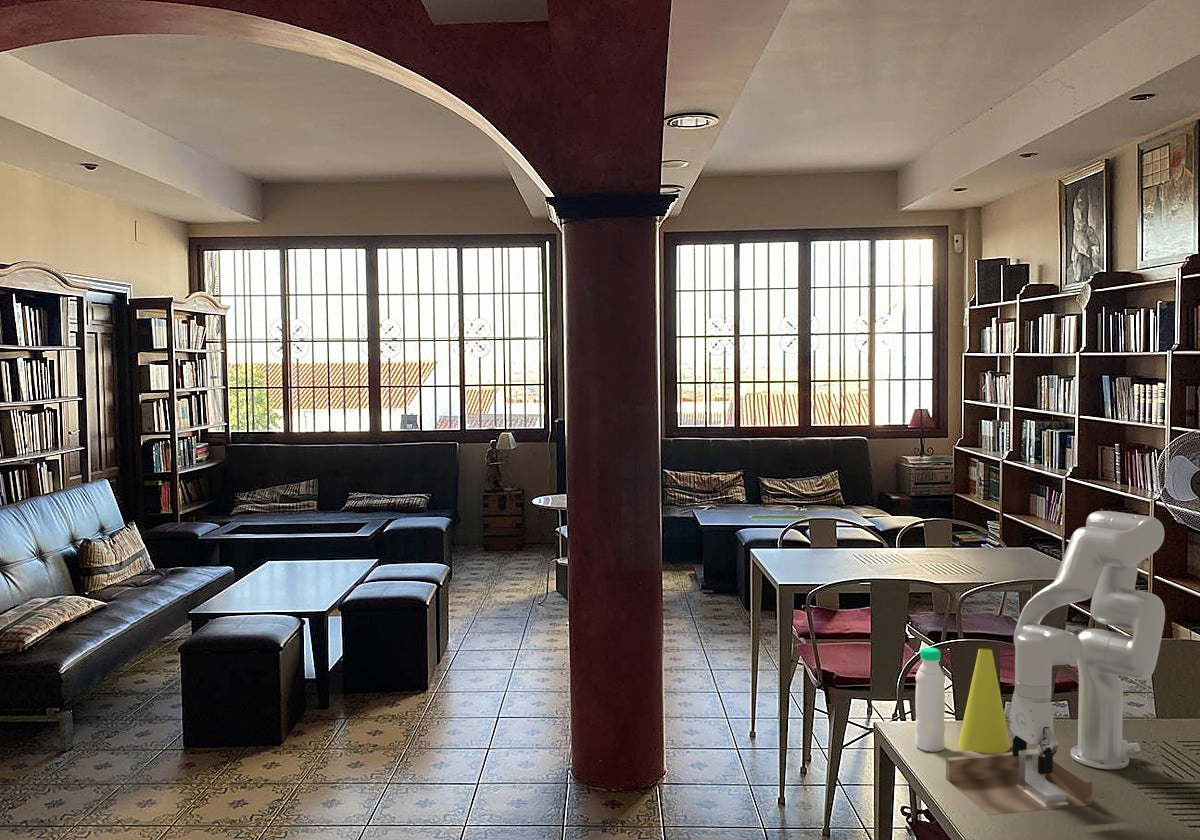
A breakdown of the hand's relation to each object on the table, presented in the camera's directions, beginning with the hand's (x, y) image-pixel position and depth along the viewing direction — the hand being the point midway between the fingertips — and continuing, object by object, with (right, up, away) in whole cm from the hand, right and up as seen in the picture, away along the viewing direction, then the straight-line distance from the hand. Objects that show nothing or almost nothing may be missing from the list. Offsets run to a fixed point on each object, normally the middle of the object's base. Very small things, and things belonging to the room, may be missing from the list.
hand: (1032, 764), depth 224 cm
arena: (-4, -7, -2) cm, 8 cm away
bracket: (+1, -5, -3) cm, 6 cm away
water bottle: (-14, -5, +26) cm, 30 cm away
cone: (-1, -5, +25) cm, 26 cm away
